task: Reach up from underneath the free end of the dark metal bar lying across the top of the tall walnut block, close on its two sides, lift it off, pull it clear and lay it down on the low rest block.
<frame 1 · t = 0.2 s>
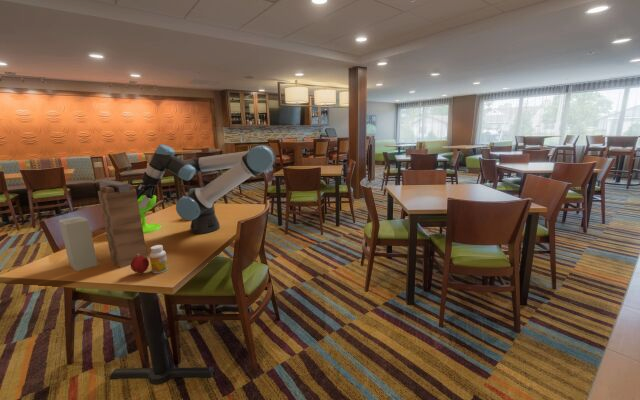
hand: (133, 211, 144), 15 cm above the table, tool tilted 35°, fingers open, 13 cm apart
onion: (141, 274, 110), on the table
stand: (130, 260, 123), on the table
wineglass: (145, 229, 164), on the table
supplement bottle 2: (160, 270, 113), on the table
bar: (114, 189, 118), point 30 cm above the table, touching stand
rest block: (83, 264, 120), on the table
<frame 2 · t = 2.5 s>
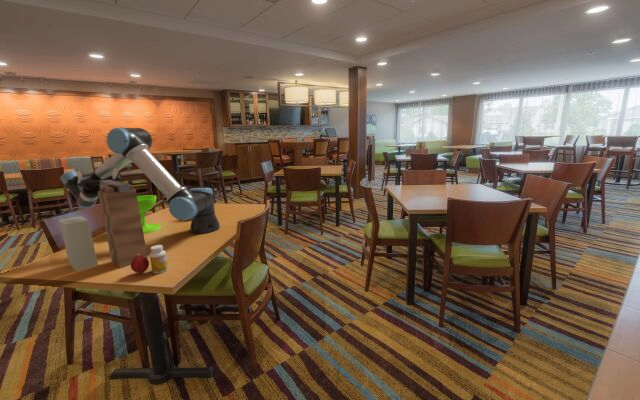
hand: (98, 172, 131), 36 cm above the table, tool pointing upward, fingers open, 13 cm apart
nothing on the table moved.
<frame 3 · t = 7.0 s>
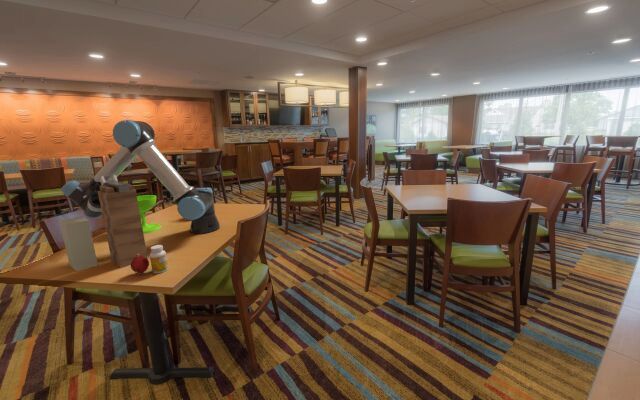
hand: (109, 178, 119), 34 cm above the table, tool pointing upward, fingers closed on bar, 3 cm apart
bar: (114, 189, 118), point 30 cm above the table, touching gripper, stand
everything else where it was.
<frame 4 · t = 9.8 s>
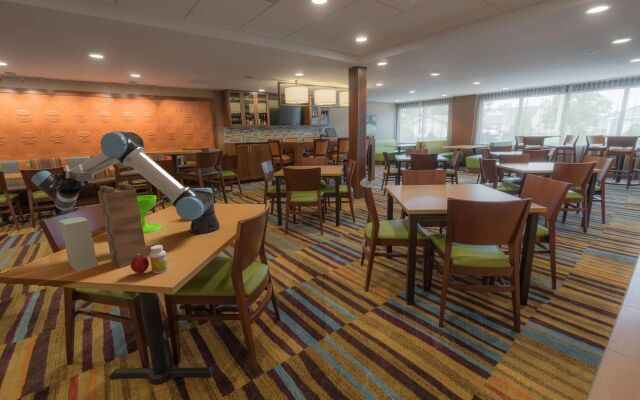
hand: (74, 167, 118), 39 cm above the table, tool pointing upward, fingers closed on bar, 3 cm apart
bar: (78, 178, 117), point 35 cm above the table, touching gripper
everything else where it was.
when the fingers open (25 cm above the table, at t = 13.0 s): bar drops 2 cm, resting on rest block.
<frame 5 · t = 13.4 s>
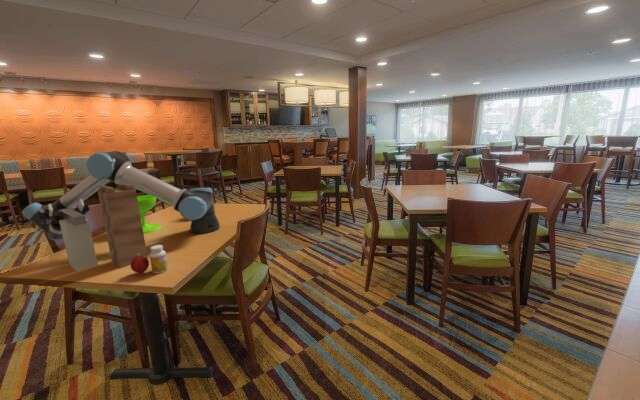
hand: (67, 204, 117), 25 cm above the table, tool pointing upward, fingers open, 9 cm apart
bar: (72, 219, 116), point 19 cm above the table, touching rest block
everything else where it was.
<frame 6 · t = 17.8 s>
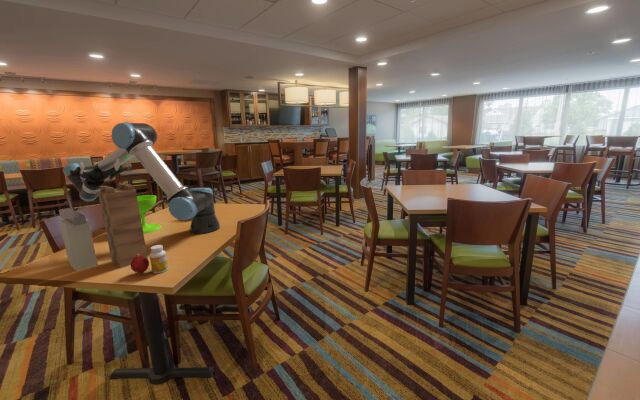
hand: (101, 162, 130), 40 cm above the table, tool pointing upward, fingers open, 13 cm apart
nothing on the table moved.
at the end: bar inside the target area on the rest block (1.1 cm from its centre), point 19.0 cm above the rest block's base; bar moved 19.8 cm from its start; the gripper is holding nothing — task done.
